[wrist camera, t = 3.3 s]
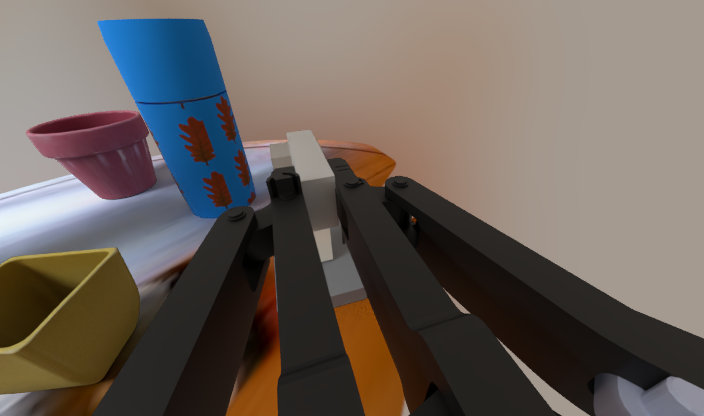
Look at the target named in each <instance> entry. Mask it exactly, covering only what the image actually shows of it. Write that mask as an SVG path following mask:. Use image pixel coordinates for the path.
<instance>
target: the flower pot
mask: <svg viewBox="0 0 704 416" xmlns="http://www.w3.org/2000/svg"><path fill="white" fill-rule="evenodd" d="M139 310H140V297H139V292H138V288H137V286H136V284H135V281H134V279H133V277H132V275H131V273H130V271H129V269H128V267H127V265H126V263H125V262H124V260H123V258H122V256H121V254H120V252H119V250H118V248H101V249H90V250H81V251H70V252H60V253H48V254H36V255H24V256H17V257H12V258H10V259H8V260H7V261H5V262H3V263H2V264H0V394H15V393H25V392H33V391H41V390H48V389H57V388H65V387H73V386H82V385H90V384H95V383H97V382H99V381H101V380H102V379H103V378H104V376H105V375H106V373H107V372H108V370H109V369H110V367H111V365H112V364H113V362H114V361H115V359H116V358H117V356H118V354H119V353H120V351H121V350H122V348H123V347H124V345H125V344H126V342H127V340H128V339H129V337H130V336H131V334H132V333H133V331H134V330H135V328H136V325H137V321H138V316H139Z"/></svg>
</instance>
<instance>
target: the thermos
mask: <svg viewBox="0 0 704 416" xmlns="http://www.w3.org/2000/svg"><path fill="white" fill-rule="evenodd" d="M97 23H98V25H99V28H100V31H101V33H102V36H103V39H104V41H105V43H106V45H107V47H108V49H109V51H110V53H111V55H112V57H113V59H114V61H115V63H116V65H117V67H118V69H119V71H120V73H121V75H122V77H123V79H124V81H125V83H126V85H127V87H128V89H129V91H130V93H131V95H132V97H133V99H134V100H135V103H136V104H137V107H138V109H139V111H140V113H141V115H142V117H143V118H144V121H145V123H146V125H147V127H148V128H149V130H150V132H151V134H152V136H153V138H154V140H155V142H156V144H157V146H158V148H159V150H160V152H161V154H162V156H163V158H164V160H165V162H166V164H167V166H168V168H169V170H170V172H171V174H172V176H173V178H174V180H175V182H176V184H177V186H178V188H179V190H180V192H181V193H182V195H183V197H184V198H185V200H186V202H187V204H188V205H189V207H190V209H191V210H192V212H193V213H194V215H196V216H199V217H201V218H218V217H219V216H220V215H221V214H222V213H223V212H225V211H226V210H228V209H230V208H233V207H238V206H248V205H250V204H251V203H252V202H253V200H254V198H255V196H256V194H255V189H254V185H253V181H252V176H251V172H250V168H249V165H248V162H247V158H246V155H245V152H244V148H243V145H242V142H241V138H240V135H239V131H238V128H237V125H236V122H235V118H234V115H233V112H232V108H231V105H230V101H229V98H228V95H227V91H226V89H225V84H224V81H223V78H222V74H221V71H220V68H219V64H218V61H217V58H216V55H215V51H214V47H213V44H212V41H211V38H210V35H209V32H208V30H207V28H206V25H205V23H204V20H199V19H125V20H124V19H123V20H105V21H98V22H97Z"/></svg>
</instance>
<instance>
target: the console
mask: <svg viewBox="0 0 704 416" xmlns="http://www.w3.org/2000/svg"><path fill="white" fill-rule="evenodd" d="M330 235H331V244H332V254H333V259H332V260H327V261H323V262H321V263H322V267H323V270H324V274H325V278H326V282H327V285H328V289H329V293H330V296H331V300H332V304H333V308H335V307H339V306H342V305H346V304H349V303H353V302H356V301H360V300H363V299H367V294H366V291H365V289H364V286H363V284H362V282H361V279H360V277H359V274H358V272H357V269H356V267H355V264H354V262H353V259H352V257H351V254H350V252H349V249H348V247H347V244H346V242H345V244H343V242H342V230H341V223H340V221H339V226H337V227H333V228H330ZM274 265H275V257H274ZM275 282H276V273H275ZM276 299H277V289H276ZM277 312H278V305H277Z"/></svg>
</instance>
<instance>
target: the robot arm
mask: <svg viewBox="0 0 704 416" xmlns="http://www.w3.org/2000/svg"><path fill="white" fill-rule="evenodd" d="M287 138H288V144H289V149H290V154H291V159H292V164H293V166H288V167H282V168H276V169H274V171H273V172H272V173H271V176H270V177H269V178H267V181H266V183H267V187H268V190H269V194H270V198H271V203H270V204H269V205H268V206H266V207H265V208H263V209H260V210H258V211H255V212H254V210H253V209H252V208H251V207H248V206H238V207H233V208H230V209H228V210H226V211H225V212H223V213H222V214H221V215H220V216H219V217H218V219H217V220H216V222H215V223H214V225H213V227H212V228H211V230H210V231H209V233H208V234H207V236H206V238H205V239H204V241H203V242H202V244H201V245H200V247H199V248H198V250H197V252H196V253H195V255H194V256H193V258H192V259H191V261H190V263H189V264H188V266H187V267H186V269H185V270H184V272H183V274H182V275H181V277H180V278H179V280H178V281H177V283H176V284H175V286H174V288H173V289H172V291H171V292H170V294H169V295H168V297H167V299H166V300H165V302H164V303H163V305H162V306H161V308H160V310H159V311H158V313H157V314H156V316H155V317H154V319H153V320H152V322H151V324H150V325H149V327H148V328H147V330H146V331H145V333H144V335H143V336H142V338H141V339H140V341H139V342H138V344H137V346H136V347H135V349H134V350H133V352H132V353H131V355H130V356H129V358H128V360H127V361H126V363H125V364H124V366H123V367H122V369H121V371H120V372H119V374H118V375H117V377H116V378H115V380H114V382H113V383H112V385H111V386H110V388H109V389H108V391H107V392H106V394H105V396H104V397H103V399H102V400H101V402H100V403H99V405H98V407H97V408H96V410H95V411H94V413H93V414H92V416H225V415H226V412H227V408H228V405H229V401H230V398H231V395H232V391H233V388H234V384H235V381H236V377H237V374H238V370H239V367H240V363H241V360H242V356H243V353H244V350H245V346H246V343H247V339H248V336H249V332H250V329H251V325H252V322H253V318H254V315H255V311H256V308H257V305H258V301H259V298H260V294H261V291H262V287H263V284H264V280H265V277H266V273H267V270H268V267H269V263H270V257H272V256H274V257H275V273H276V289H277V305H278V322H279V338H280V354H281V375H280V377H279V379H278V386H277V396H278V416H365V414H364V410H363V406H362V403H361V399H360V395H359V392H358V388H357V385H356V381H355V377H354V374H353V370H352V367H351V363H350V360H349V357H348V355H347V354H346V351H345V348H344V345H343V341H342V337H341V334H340V330H339V326H338V323H337V319H336V315H335V311H334V308H333V304H332V300H331V296H330V293H329V289H328V285H327V282H326V278H325V274H324V270H323V267H322V263H321V259H320V255H319V252H318V248H317V244H316V241H315V237H314V233H313V232H314V231H319V230H323V229H328V228H333V227H337V226H339V220H340V223H341V230H342V242H343V244H345V242H346V244H347V247H348V249H349V252H350V254H351V257H352V259H353V262H354V264H355V267H356V269H357V272H358V274H359V277H360V279H361V282H362V284H363V286H364V289H365V291H366V294H367V296H368V299H369V301H370V304H371V306H372V309H373V311H374V314H375V316H376V319H377V321H378V324H379V326H380V329H381V331H382V334H383V336H384V338H385V341H386V343H387V346H388V348H389V351H390V353H391V356H392V358H393V361H394V363H395V366H396V368H397V371H398V373H399V376H400V379H401V382H402V386H403V392H404V396H405V400H406V404H407V406H408V409H409V412H410V415H409V416H561V415H560V414H558V413H556V412H555V411H553V410H552V409H551V408H550V406H549V405H548V404H547V402H546V401H545V400H544V399H543V397H542V396H541V395H540V393H539V392H538V391H537V390H536V388H535V387H534V386H533V384H532V383H531V382H530V381H529V379H528V378H527V377H526V375H525V374H524V373H523V372H522V370H521V369H520V368H519V366H518V365H517V364H516V363H515V361H514V360H513V359H512V357H511V356H510V355H509V354H508V352H507V351H506V350H505V348H504V347H503V346H502V345H501V343H500V342H499V341H498V339H499V340H500V341H501V342H502V343H503V344H504V345H505V346H506V347H507V348H508V349H509V350H510V351H512V352H513V353H514V354H515V355H516V356H517V357H518V358H519V359H520V360H521V361H522V362H523V363H525V364H526V365H527V366H528V367H529V368H530V369H531V370H532V371H533V372H534V373H536V374H537V375H538V376H539V377H540V378H541V379H542V380H544V381H545V382H546V383H547V384H548V385H549V386H550V387H552V388H553V389H554V390H556V391H557V392H558V393H559V394H561V395H562V396H563V397H565V398H566V399H567V400H569V401H570V402H571V403H573V404H574V405H575V406H577V407H578V408H580V409H581V410H583V411H584V412H586V413H587V414H589V415H590V416H704V339H703V338H701V337H699V336H696V335H693V334H691V333H689V332H686V331H683V330H682V329H679V328H677V327H674V326H672V325H669V324H667V323H664V322H662V321H659V320H657V319H655V318H652V317H650V316H647V315H645V314H642V313H640V312H637V311H635V310H633V309H631V308H629V307H627V306H626V305H624V304H623V303H621V302H619V301H617V300H616V299H614V298H612V297H610V296H609V295H607V294H606V293H604V292H602V291H600V290H599V289H597V288H595V287H593V286H592V285H590V284H589V283H587V282H585V281H583V280H582V279H580V278H578V277H577V276H575V275H573V274H572V273H570V272H568V271H566V270H565V269H563V268H561V267H560V266H558V265H556V264H555V263H553V262H551V261H550V260H548V259H546V258H544V257H543V256H541V255H539V254H538V253H536V252H534V251H533V250H531V249H529V248H528V247H526V246H524V245H522V244H521V243H519V242H517V241H516V240H514V239H512V238H510V237H509V236H507V235H505V234H504V233H502V232H500V231H499V230H497V229H495V228H494V227H492V226H490V225H488V224H487V223H485V222H483V221H482V220H480V219H478V218H477V217H475V216H473V215H472V214H470V213H468V212H466V211H465V210H463V209H461V208H460V207H458V206H456V205H455V204H453V203H451V202H449V201H448V200H446V199H444V198H443V197H441V196H439V195H438V194H436V193H434V192H433V191H431V190H429V189H427V188H426V187H424V186H422V185H421V184H419V183H417V182H416V181H414V180H412V179H410V178H408V177H403V176H395V177H391V178H389V179H387V180H386V181H385V187H372V186H369V184H368V183H367V182H366V181H365V180H364V179H362V178H359V177H356V175H355V174H354V172H353V171H352V169H351V168H350V167H349V166H348V164H347V162H346V161H345V160H343V159H341V158H334V159H328V160H326V158H325V156H324V154H323V153H322V151H321V149H320V147H319V145H318V143H317V141H316V139H315V137H314V136H313V133H312V132H311V130H305V131H298V132H290V133H287ZM412 216H413V217H414V218H415V219H416V220H417V221H416V223H414V222H413V221H412V220H411V218H412ZM442 287H443V288H444V289H445V290H446V291H447V292H448V293H449V294H450V295H451V296H452V297H453V298H455V299H456V300H457V301H458V302H459V303H460V304H461V305H462V306H463V307H464V308H465V309H466V310H467V311H469V312H470V313H471V314H464V313H462V312H461V311H460V310H459V309H458V308H457V307H456V306H455V304H454V303H453V301H452V300H451V299H450V297H449V296H448V294H447V293H446V292H445V290H444V289H443V288H442ZM496 337H497V338H498V339H497V338H496Z"/></svg>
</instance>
